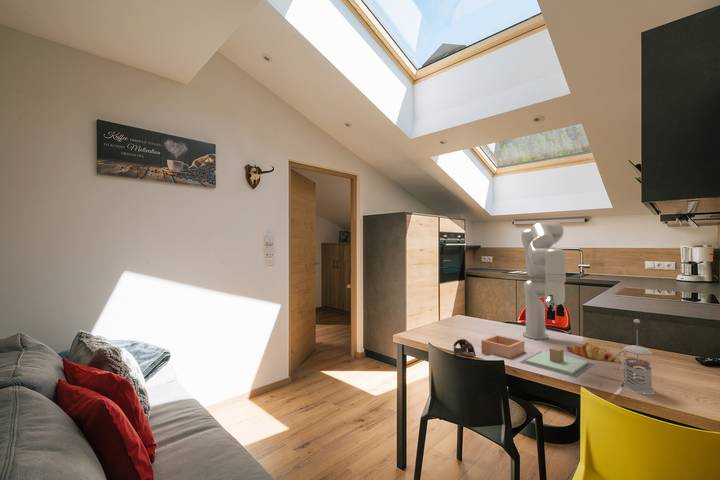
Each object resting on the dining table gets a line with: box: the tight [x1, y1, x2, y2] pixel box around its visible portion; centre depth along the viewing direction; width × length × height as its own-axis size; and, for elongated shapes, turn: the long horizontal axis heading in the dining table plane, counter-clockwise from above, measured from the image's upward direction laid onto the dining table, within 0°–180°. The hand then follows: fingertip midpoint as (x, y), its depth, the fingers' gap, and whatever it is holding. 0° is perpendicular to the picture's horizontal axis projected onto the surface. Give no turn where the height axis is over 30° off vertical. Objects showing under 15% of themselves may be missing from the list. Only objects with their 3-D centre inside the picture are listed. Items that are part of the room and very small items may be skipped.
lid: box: [526, 346, 589, 375], centre depth 146 cm, size 18×18×6 cm
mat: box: [518, 350, 596, 379], centre depth 146 cm, size 22×22×1 cm
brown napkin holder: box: [453, 338, 477, 357], centre depth 162 cm, size 12×10×8 cm
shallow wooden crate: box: [481, 334, 525, 359], centre depth 163 cm, size 14×14×6 cm
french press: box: [615, 318, 656, 395], centre depth 124 cm, size 10×12×25 cm
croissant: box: [566, 342, 622, 364], centre depth 154 cm, size 21×10×8 cm, turn 39°
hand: (555, 317), depth 146 cm, fingers open, 9 cm apart
